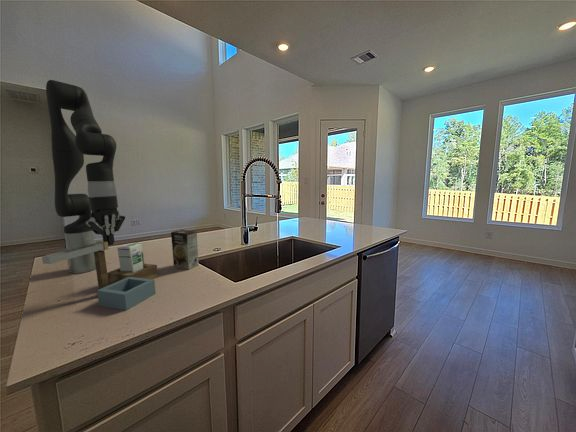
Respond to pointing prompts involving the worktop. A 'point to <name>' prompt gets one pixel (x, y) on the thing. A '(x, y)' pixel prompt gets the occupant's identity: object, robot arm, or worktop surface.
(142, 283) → the blue-grey hollow box
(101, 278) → the socket block
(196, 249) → the coffee box
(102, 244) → the bar
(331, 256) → the worktop surface
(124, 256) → the syrup box
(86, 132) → the robot arm
